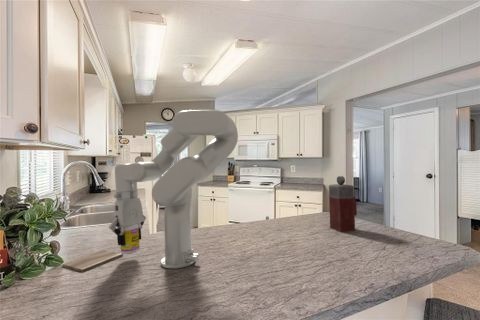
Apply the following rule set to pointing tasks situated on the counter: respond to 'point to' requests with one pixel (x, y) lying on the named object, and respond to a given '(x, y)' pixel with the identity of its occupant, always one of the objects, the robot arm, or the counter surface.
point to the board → (92, 260)
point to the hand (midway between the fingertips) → (130, 241)
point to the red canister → (342, 206)
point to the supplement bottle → (131, 240)
